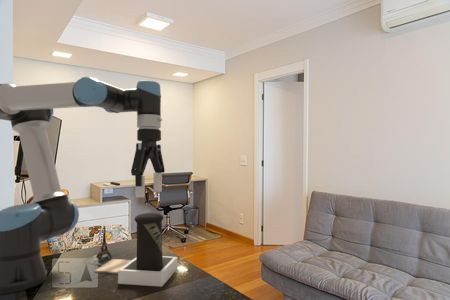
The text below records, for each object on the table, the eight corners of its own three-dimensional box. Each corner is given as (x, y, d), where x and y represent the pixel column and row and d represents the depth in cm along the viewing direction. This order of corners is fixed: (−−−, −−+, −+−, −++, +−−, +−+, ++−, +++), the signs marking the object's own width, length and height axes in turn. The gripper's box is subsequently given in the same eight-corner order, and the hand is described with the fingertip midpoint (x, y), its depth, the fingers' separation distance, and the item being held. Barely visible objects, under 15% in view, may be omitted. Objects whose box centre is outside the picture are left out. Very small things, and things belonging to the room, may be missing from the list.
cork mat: (94, 272, 99) (94, 270, 99) (112, 260, 109) (112, 259, 110) (125, 274, 97) (125, 272, 97) (140, 262, 108) (140, 260, 108)
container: (156, 282, 90) (156, 216, 91) (130, 280, 92) (129, 215, 92) (167, 271, 99) (167, 211, 99) (143, 269, 100) (142, 210, 101)
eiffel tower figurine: (104, 251, 122) (104, 219, 122) (126, 253, 119) (126, 220, 120) (78, 264, 107) (78, 227, 107) (102, 266, 105) (102, 229, 105)
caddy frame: (118, 283, 90) (118, 270, 90) (139, 266, 103) (139, 255, 104) (161, 286, 87) (161, 272, 87) (177, 268, 101) (177, 256, 101)
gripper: (143, 124, 83) (143, 200, 83) (173, 131, 108) (173, 189, 108) (118, 125, 85) (118, 199, 84) (153, 132, 109) (154, 189, 109)
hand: (149, 194), depth 96 cm, fingers open, 13 cm apart
